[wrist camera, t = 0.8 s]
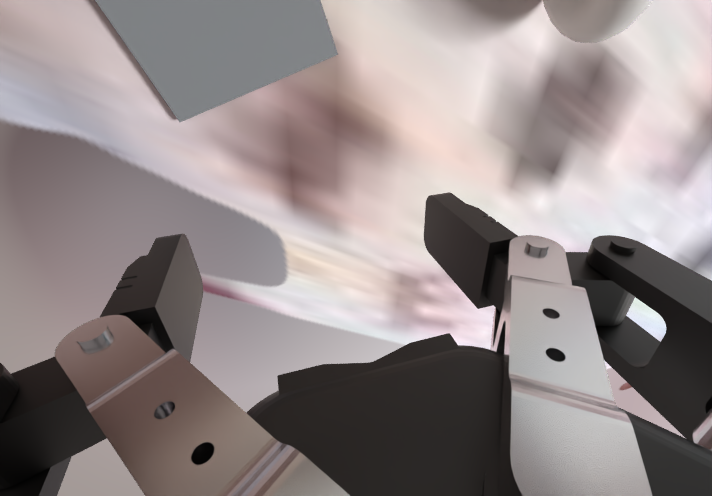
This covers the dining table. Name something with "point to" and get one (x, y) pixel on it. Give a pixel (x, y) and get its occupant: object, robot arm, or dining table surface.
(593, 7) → the donut
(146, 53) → the mat
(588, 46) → the dining table surface
